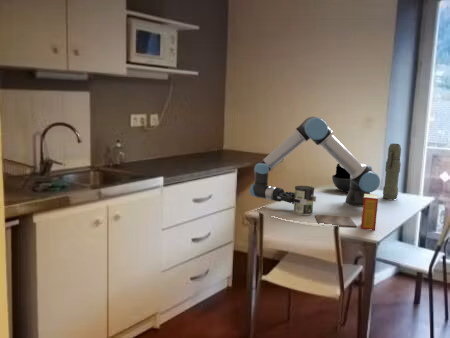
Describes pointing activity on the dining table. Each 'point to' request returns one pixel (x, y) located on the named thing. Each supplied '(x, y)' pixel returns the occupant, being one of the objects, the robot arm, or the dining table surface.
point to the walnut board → (336, 220)
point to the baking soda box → (369, 211)
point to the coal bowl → (341, 179)
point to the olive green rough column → (392, 172)
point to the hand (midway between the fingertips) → (310, 200)
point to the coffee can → (304, 193)
